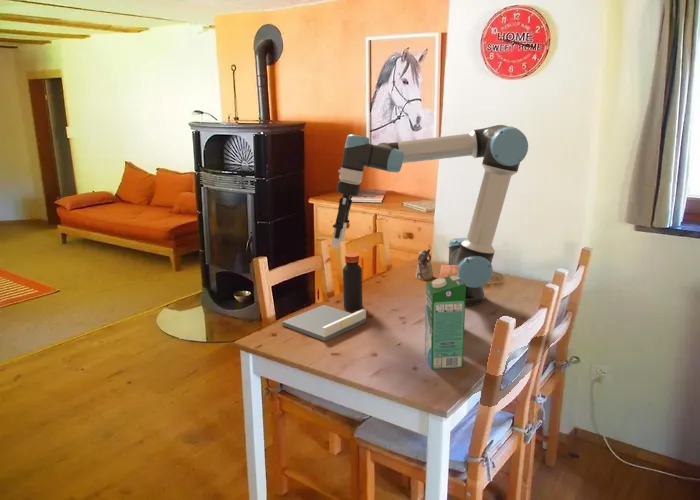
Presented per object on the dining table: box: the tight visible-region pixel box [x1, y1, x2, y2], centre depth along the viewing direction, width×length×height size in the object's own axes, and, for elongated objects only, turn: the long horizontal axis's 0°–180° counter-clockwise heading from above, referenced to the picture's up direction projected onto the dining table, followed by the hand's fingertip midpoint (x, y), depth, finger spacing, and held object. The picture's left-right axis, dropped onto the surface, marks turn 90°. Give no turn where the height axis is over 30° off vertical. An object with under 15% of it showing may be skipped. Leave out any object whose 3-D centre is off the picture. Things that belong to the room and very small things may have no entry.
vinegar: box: [342, 252, 363, 312], centre depth 203 cm, size 7×7×20 cm
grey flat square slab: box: [281, 304, 367, 342], centre depth 192 cm, size 20×20×4 cm
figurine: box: [415, 248, 434, 281], centre depth 236 cm, size 7×7×12 cm
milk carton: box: [424, 274, 466, 370], centre depth 161 cm, size 9×9×25 cm
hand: (337, 244), depth 192 cm, fingers open, 13 cm apart
